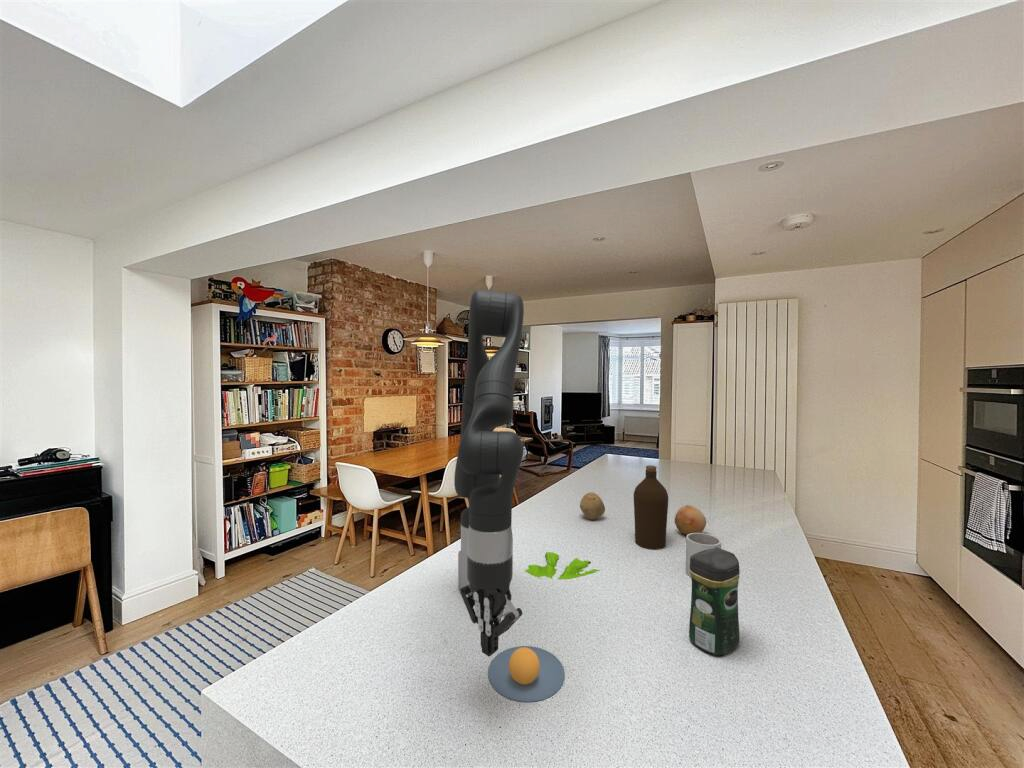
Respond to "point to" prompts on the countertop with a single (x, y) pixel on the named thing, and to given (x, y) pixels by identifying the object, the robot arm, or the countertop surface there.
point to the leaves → (550, 571)
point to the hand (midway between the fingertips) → (489, 652)
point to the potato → (592, 506)
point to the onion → (690, 520)
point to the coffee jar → (714, 601)
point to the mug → (699, 545)
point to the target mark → (537, 690)
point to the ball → (524, 666)
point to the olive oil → (650, 511)
